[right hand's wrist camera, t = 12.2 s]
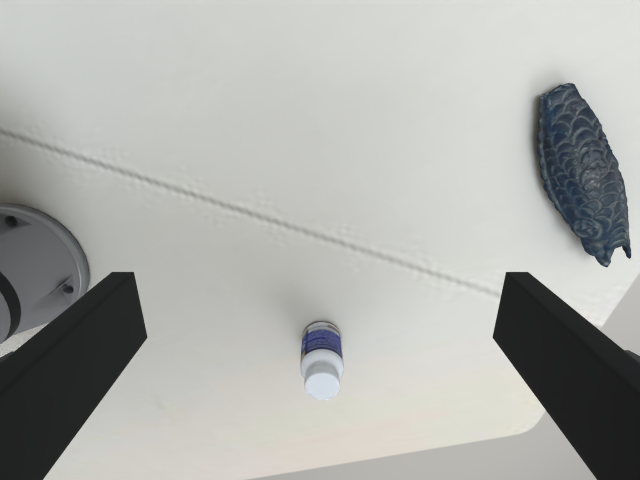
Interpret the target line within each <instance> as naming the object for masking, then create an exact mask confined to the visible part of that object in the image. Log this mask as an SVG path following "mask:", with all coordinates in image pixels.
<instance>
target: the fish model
mask: <svg viewBox="0 0 640 480" xmlns="http://www.w3.org/2000/svg"><path fill="white" fill-rule="evenodd" d="M540 104H541V106H540V109H539V112H540V120H539V123H538V126H539V128H540V129H539V132H538V136H537V141H538V143H539V145H538V151H537V153H538V155H539V157H540V160H539V164H540V167H541V168H542V170H541V176H542V179H543V180H544V189H545V190H546V191H547V192H548V196H549V198H550V200H552V201H553V202H554V203H555V208H556V209H557V210H558V211H559V212H560V213H561V214H562V216H563V218H564V220H565V221H566V223H568V224H569V225H570V227H571V230H572V231H573V232H574V233H575V234H576V235H577V236H578V237H580V239H581V242H582V245H583V247H584V250H585V251H586V252H587V253H588V254H589V255H592V256H595V258H596V260H597V261H598V262H599V263H600V264H601V265H602V266H605V267H608V266H609V264H610V262H611V260H610V259H611V256H612V254H613V252H614V249H615V248H618V247H621V246H622V248H623V250H624V251H625V253H626V256H627V257H628V258H629V259H630V258H631V248H630V239H629V222H628V207H627V197H626V193H625V186H624V180H623V178H622V175H621V172H620V171H619V170H618V161H617V159H616V158H615V156H614V155H613V153H612V150H611V149H610V146H609V144H608V141H607V139H606V135H605V134H604V132H603V131H602V125H601V124H600V123H599V120H598V118H597V117H596V116H595V114H594V112H593V111H592V110H591V108H590V107H589V105H588V104H587V102H586V101H585V100H584V99H582V98H581V96H580V94H579V92H578V90H577V89H576V87H575V85H574V84H572V83H567V84H564V85H559V86H558V87H557V88H555V89H553V90H552V91H551V92H550V93H546V94H542V95H541V97H540Z"/></svg>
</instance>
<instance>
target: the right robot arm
mask: <svg viewBox="0 0 640 480" xmlns="http://www.w3.org/2000/svg"><path fill="white" fill-rule="evenodd" d="M88 283H89V270H88V264H87V261H86V258H85V255H84V253H83V251H82V249H81V247H80V246H79V244H78V243H77V241H76V240H75V238H74V237H73V236H72V235H71V234H70V233H69V232H68V231H67V230H66V229H65V228H64V227H63V226H62V225H61V224H60V223H58V222H57V221H55V220H54V219H52V218H51V217H49V216H48V215H46V214H44V213H42V212H40V211H37V210H35V209H32V208H29V207H26V206H22V205H16V204H0V344H1V343H3V342H4V341H5V340H7V339H8V338H9V337H11V336H12V335H15V334H18V333H21V332H23V331H26V330H29V329H32V328H34V327H37V326H40V325H43V324H46V323H48V322H50V323H49V324H48V325H47V326H45V327H44V328H43V329H42V330H40V331H39V332H38V333H37V334H36V335H34V336H33V337H32V338H31V339H29V340H28V341H27V342H26V343H24V344H23V345H22V346H21V347H20V348H18V349H17V350H16V351H15V352H10V353H8V354H6V355H4V356H3V357H1V358H0V480H43V479H44V477H45V476H46V475H47V473H48V472H49V471H50V469H51V468H52V467H53V465H54V464H55V462H56V461H57V460H58V458H59V457H60V456H61V454H62V453H63V452H64V450H65V449H66V447H67V446H68V445H69V443H70V442H71V441H72V439H73V438H74V437H75V435H76V434H77V432H78V431H79V430H80V428H81V427H82V426H83V424H84V423H85V422H86V420H87V419H88V418H89V416H90V415H91V413H92V412H93V411H94V409H95V408H96V407H97V405H98V404H99V403H100V401H101V400H102V398H103V397H104V396H105V394H106V393H107V392H108V390H109V389H110V388H111V386H112V385H113V384H114V382H115V381H116V379H117V378H118V377H119V375H120V374H121V373H122V371H123V370H124V369H125V367H126V366H127V364H128V363H129V362H130V360H131V359H132V358H133V356H134V355H135V354H136V352H137V351H138V350H139V348H140V347H141V345H142V344H143V343H144V341H145V340H146V339H147V333H146V328H145V324H144V319H143V314H142V309H141V304H140V300H139V295H138V290H137V285H136V280H135V276H134V272H112V273H110V274H109V275H108V276H107V277H105V278H104V279H103V280H102V281H101V282H99V283H98V284H97V285H96V286H94V287H93V288H92V289H91V290H89V291H88V292H87V293H86V290H87V287H88ZM85 293H86V294H85ZM493 339H494V340H495V341H496V343H497V344H498V345H499V347H500V348H501V350H502V351H503V352H504V354H505V355H506V356H507V358H508V359H509V360H510V362H511V363H512V364H513V366H514V367H515V369H516V370H517V371H518V373H519V374H520V375H521V377H522V378H523V379H524V381H525V382H526V384H527V385H528V386H529V388H530V389H531V390H532V392H533V393H534V394H535V396H536V397H537V398H538V400H539V401H540V403H541V404H542V405H543V407H544V408H545V409H546V411H547V412H548V413H549V415H550V416H551V418H552V419H553V420H554V422H555V423H556V424H557V426H558V427H559V428H560V430H561V431H562V432H563V434H564V435H565V437H566V438H567V439H568V441H569V442H570V443H571V445H572V446H573V447H574V449H575V450H576V452H577V453H578V454H579V456H580V457H581V458H582V460H583V461H584V462H585V464H586V465H587V467H588V468H589V469H590V471H591V472H592V473H593V475H594V476H595V477H596V479H597V480H640V356H638V355H637V354H635V353H633V352H631V351H629V350H623V349H622V348H620V347H619V346H618V345H617V344H616V343H614V342H613V341H612V340H611V339H609V338H608V337H607V336H606V335H604V334H603V333H602V332H601V331H600V330H598V329H597V328H596V327H595V326H593V325H592V324H591V323H590V322H589V321H587V320H586V319H585V318H584V317H582V316H581V315H580V314H579V313H578V312H576V311H575V310H574V309H573V308H571V307H570V306H569V305H568V304H566V303H565V302H564V301H563V300H562V299H560V298H559V297H558V296H557V295H555V294H554V293H553V292H552V291H551V290H549V289H548V288H547V287H546V286H544V285H543V284H542V283H541V282H539V281H538V280H537V279H536V278H535V277H533V276H532V275H531V274H530V273H528V272H506V276H505V280H504V285H503V290H502V295H501V300H500V304H499V309H498V314H497V319H496V324H495V328H494V333H493Z"/></svg>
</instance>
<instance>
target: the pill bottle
mask: <svg viewBox="0 0 640 480" xmlns="http://www.w3.org/2000/svg"><path fill="white" fill-rule="evenodd" d="M300 370H301V375H302V377H303V378H304V380H305V390H306V392H307V394H308V395H309V396H311V397H312V398H314V399H317V400H327V399H330V398H332V397H334V396H335V395H336V394H337V393H338V392H339V389H340V379H341V377H342V375H343V372H344V362H343V352H342V339H341V334H340V331H339V330H338V329H337V328H336V327H335V326H334V325H332V324H330V323H326V322H318V323H314V324H312V325H310V326H309V327H308V328H307V329H306V330H305V331H304V333H303V338H302V349H301V364H300Z"/></svg>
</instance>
